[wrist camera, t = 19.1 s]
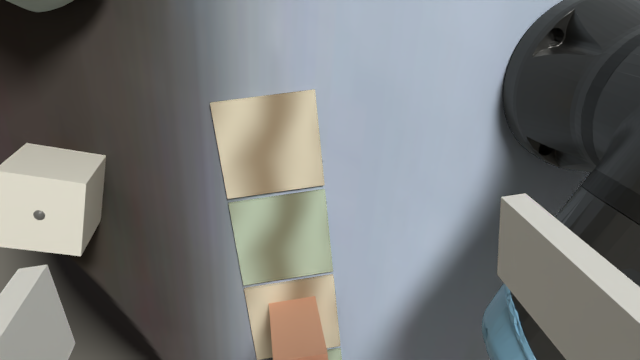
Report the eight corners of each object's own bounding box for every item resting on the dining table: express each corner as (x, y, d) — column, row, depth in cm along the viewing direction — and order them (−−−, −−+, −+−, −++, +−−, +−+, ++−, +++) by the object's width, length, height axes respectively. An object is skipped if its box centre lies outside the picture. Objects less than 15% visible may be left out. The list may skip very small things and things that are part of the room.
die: (106, 155, 42) (85, 184, 37) (100, 220, 44) (80, 257, 39) (24, 142, 41) (-11, 170, 35) (22, 209, 43) (-11, 247, 37)
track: (314, 89, 42) (314, 90, 42) (346, 408, 57) (346, 410, 56) (210, 102, 42) (209, 103, 41) (268, 422, 56) (268, 425, 56)
